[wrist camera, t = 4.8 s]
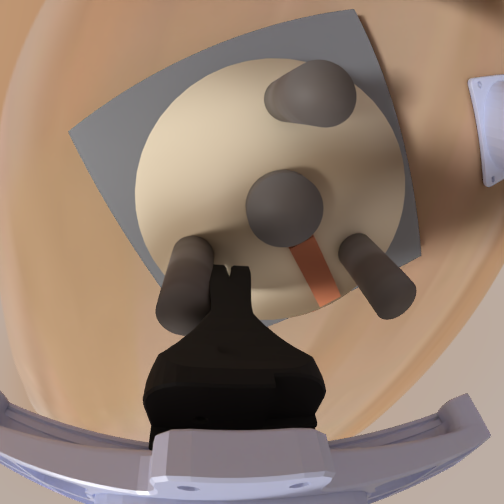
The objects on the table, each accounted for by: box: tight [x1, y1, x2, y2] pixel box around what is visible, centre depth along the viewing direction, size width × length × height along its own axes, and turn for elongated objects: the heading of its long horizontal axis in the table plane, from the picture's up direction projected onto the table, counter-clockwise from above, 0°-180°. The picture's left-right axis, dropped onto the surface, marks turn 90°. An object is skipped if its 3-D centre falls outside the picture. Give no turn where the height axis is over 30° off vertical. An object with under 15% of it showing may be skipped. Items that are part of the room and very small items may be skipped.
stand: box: [68, 9, 421, 327], centre depth 13 cm, size 15×15×1 cm
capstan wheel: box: [135, 58, 416, 336], centre depth 10 cm, size 12×12×6 cm
